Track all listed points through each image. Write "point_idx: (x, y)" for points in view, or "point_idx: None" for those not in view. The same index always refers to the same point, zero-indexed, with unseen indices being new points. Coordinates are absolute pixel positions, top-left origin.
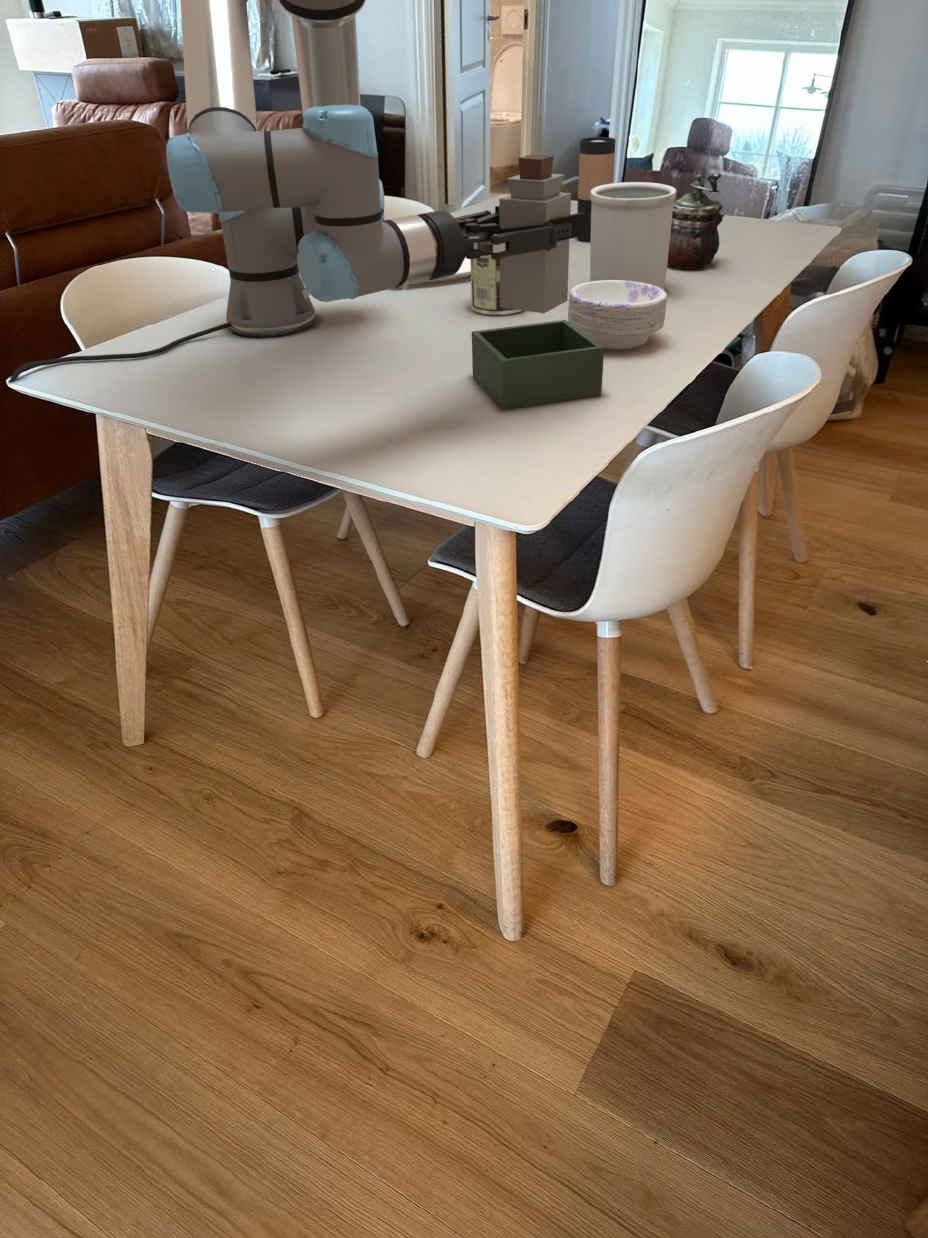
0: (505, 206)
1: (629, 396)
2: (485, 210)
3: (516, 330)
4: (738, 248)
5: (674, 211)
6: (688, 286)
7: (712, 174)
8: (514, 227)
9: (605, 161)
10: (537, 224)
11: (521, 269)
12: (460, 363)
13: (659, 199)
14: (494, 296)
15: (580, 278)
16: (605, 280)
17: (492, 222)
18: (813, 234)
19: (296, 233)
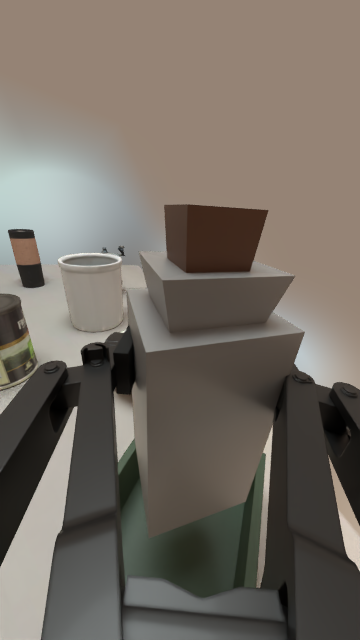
0: (170, 369)
1: (268, 467)
2: (46, 367)
3: (120, 475)
4: None
5: None
6: (127, 307)
7: (120, 246)
8: (324, 477)
9: (31, 242)
10: (302, 397)
11: (208, 472)
12: (19, 545)
13: (118, 263)
14: (4, 373)
15: (55, 316)
16: (122, 332)
17: (113, 415)
18: (135, 268)
19: None
